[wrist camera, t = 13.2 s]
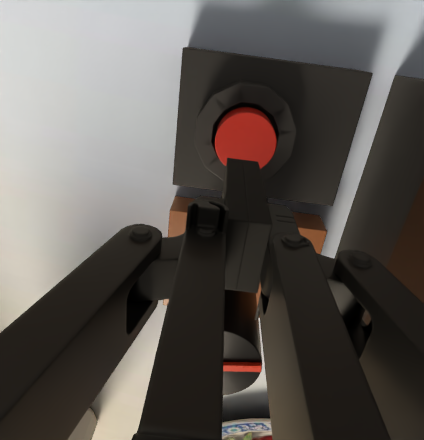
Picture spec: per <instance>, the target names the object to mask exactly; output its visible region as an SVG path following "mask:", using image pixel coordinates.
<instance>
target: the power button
mask: <svg viewBox="0 0 424 440" xmlns="http://www.w3.org/2000/svg"><path fill="white" fill-rule="evenodd" d="M276 144H277V139H276V134H275V131H274V128H273V126H272V124H271V122H270V120H269V118H268V117H267V116H266V115H265V114H264V113H263V112H261V111H260V110H258V109H255V108H252V107H240V108H236V109H234V110H232V111H230V112H229V113H227V114H226V115H225V116H224V117H223V118H222V120H221V121H220V123H219V125H218V128H217V132H216V137H215V149H216V153H217V155H218V157H219V159H220V161H221V162H222V163H223V164H224V165H225V166H226V163H227V158H233V159H241V160H249V161H257V162H258V163H259V167H260V169H261V168H262V167H264V166H265V165H266V164H267V163H268V162H269V161H270V160H271V158H272V157H273V155H274V152H275V149H276Z"/></svg>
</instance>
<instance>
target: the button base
mask: <svg viewBox="0 0 424 440" xmlns="http://www.w3.org/2000/svg"><path fill="white" fill-rule="evenodd" d="M371 77H372V73H370V72H365V71H361V70H354V69H346V68H339V67H332V66H324V65H317V64H310V63H302V62H295V61H287V60H280V59H273V58H265V57H258V56H250V55H243V54H236V53H228V52H221V51H213V50H206V49H199V48H191V47H185V48H183V53H182V66H181V79H180V93H179V106H178V119H177V133H176V146H175V160H174V173H173V185H180V186H187V187H195V188H202V189H210V190H217V191H223V184H224V177H225V170H226V166H225V165H224V164H223V163H222V162H221V161H220V159H219V157H218V155H217V153H216V149H215V137H216V132H217V128H218V125H219V123H220V121H221V120H222V118H223V117H224V116H225V115H226V114H227V113H229V112H230V111H232V110H234V109H236V108H240V107H252V108H255V109H258V110H260V111H261V112H263V113H264V114H265V115H266V116H267V117H268V118H269V120H270V122H271V124H272V126H273V128H274V131H275V134H276V139H277V144H276V149H275V152H274V155H273V157H272V158H271V160H270V161H269V162H268V163H267V164H266V165H265V166H264V167H262V168H261V169H260V172H261V176H262V180H263V185H264V189H265V193H266V197H269V198H277V199H284V200H292V201H299V202H307V203H314V204H322V205H329V206H333V203H334V200H335V196H336V193H337V190H338V186H339V183H340V180H341V176H342V173H343V170H344V167H345V163H346V160H347V157H348V153H349V150H350V147H351V143H352V140H353V137H354V134H355V130H356V127H357V124H358V120H359V117H360V114H361V110H362V107H363V104H364V101H365V97H366V94H367V91H368V87H369V84H370V81H371Z"/></svg>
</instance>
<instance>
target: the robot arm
mask: <svg viewBox="0 0 424 440" xmlns="http://www.w3.org/2000/svg"><path fill="white" fill-rule="evenodd" d="M259 284H261V293H260V297H259V302H258V306H257V311H256V315H255V320H258V317H259V315H260V323H261V332H262V342H263V352H264V362H265V371H266V381H267V391H268V401H269V410H270V420H271V430H272V440H424V304H423V303H422V302H421V301H420V300H419V299H418V298H417V297H416V296H415V295H414V294H413V293H412V292H411V291H410V290H409V289H408V288H407V287H405V286H404V285H403V284H402V283H401V282H400V281H399V280H398V279H397V278H396V277H395V276H394V275H393V274H392V273H391V272H390V271H389V270H388V269H387V268H386V267H384V266H383V265H382V264H381V263H380V262H379V261H378V260H377V259H375V258H374V257H373V256H371V255H369V254H367V253H366V252H363V251H360V250H350V249H348V250H342V251H340V252H339V253H338V256H337V259H333V258H329V257H326V256H323V255H320V254H318V253H316V251H315V249H314V246H313V244H312V243H311V241H310V240H309V239H307V238H306V237H304V236H302V235H300V232H299V229H298V227H297V224H296V221H295V219H294V216H293V213H292V211H291V210H290V209H289V208H287V207H286V206H285V205H278V204H270V203H268V202H267V198H266V193H265V189H264V185H263V180H262V176H261V172H260V167H259V163H258V162H257V161H249V160H241V159H233V158H227V163H226V170H225V177H224V184H223V191H222V198H215V197H208V196H199V197H198V198H196V199H195V200H194V201H193V202H190V203H189V205H188V209H187V219H186V229H185V232H184V233H183V234H181V235H179V236H175V237H167V238H162V233H161V231H160V230H158V229H157V228H155V227H152V226H150V225H145V224H134V225H131V226H127V227H125V228H123V229H121V230H120V231H119V232H118V233H117V234H115V235H114V236H113V237H112V238H111V239H109V240H108V241H107V242H106V243H105V244H104V245H102V246H101V247H100V248H99V249H98V250H97V251H95V252H94V253H93V254H92V255H91V256H90V257H88V258H87V259H86V260H85V261H84V262H83V263H81V264H80V265H79V266H78V267H77V268H76V269H74V270H73V271H72V272H71V273H70V274H69V275H67V276H66V277H65V278H64V279H63V280H62V281H60V282H59V283H58V284H57V285H56V286H55V287H53V288H52V289H51V290H50V291H49V292H48V293H46V294H45V295H44V296H43V297H42V298H41V299H39V300H38V301H37V302H36V303H35V304H34V305H32V306H31V307H30V308H29V309H28V310H27V311H25V312H24V313H23V314H22V315H21V316H20V317H18V318H17V319H16V320H15V321H14V322H13V323H11V324H10V325H9V326H8V327H7V328H5V329H4V330H3V331H2V332H1V333H0V440H68V438H69V437H70V435H71V434H72V432H73V431H74V429H75V428H76V426H77V425H78V423H79V422H80V420H81V419H82V417H83V416H84V414H85V413H86V411H87V410H88V408H89V407H90V405H91V404H92V402H93V401H94V400H95V398H96V397H97V395H98V394H99V392H100V391H101V389H102V388H103V386H104V385H105V383H106V382H107V380H108V379H109V377H110V376H111V374H112V373H113V371H114V370H115V368H116V367H117V365H118V364H119V362H120V361H121V359H122V358H123V356H124V355H125V353H126V352H127V350H128V349H129V347H130V346H131V344H132V343H133V341H134V340H135V338H136V337H137V335H138V334H139V332H140V331H141V329H142V328H143V326H144V325H145V323H146V322H147V320H148V319H149V317H150V316H151V314H152V313H153V311H154V310H155V308H156V307H157V304H158V300H164V299H169V301H168V305H167V310H166V314H165V318H164V322H163V327H162V331H161V335H160V339H159V344H158V348H157V352H156V356H155V361H154V365H153V369H152V373H151V378H150V382H149V386H148V390H147V395H146V399H145V403H144V407H143V412H142V416H141V420H140V424H139V428H138V431H137V433H136V434H134V435H133V438H132V440H222V411H223V359H224V306H225V289H227V290H235V291H243V292H251V293H258V289H259ZM365 310H366V311H367V313H368V314H369V316H370V318H371V320H370V322H369V324H368V325H367V324H366V323H365V322H364V321H363V320H362V318H363V315H364V313H365Z"/></svg>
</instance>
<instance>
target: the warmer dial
mask: <svg viewBox="0 0 424 440" xmlns="http://www.w3.org/2000/svg"><path fill="white" fill-rule="evenodd" d="M256 311H257V298H256V293H251V292H243V291H235V290H227V289H225V306H224V359H223V395H227V394H233V393H236V392H239V391H242V390H244V389H246V388H247V387H249V386H250V385H252V384H253V383H254V382H255V381H256V379H257V378H258V376H259V374H260V372H261V369H262V357H261V345H260V333H259V322H258V320H255V315H256Z"/></svg>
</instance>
